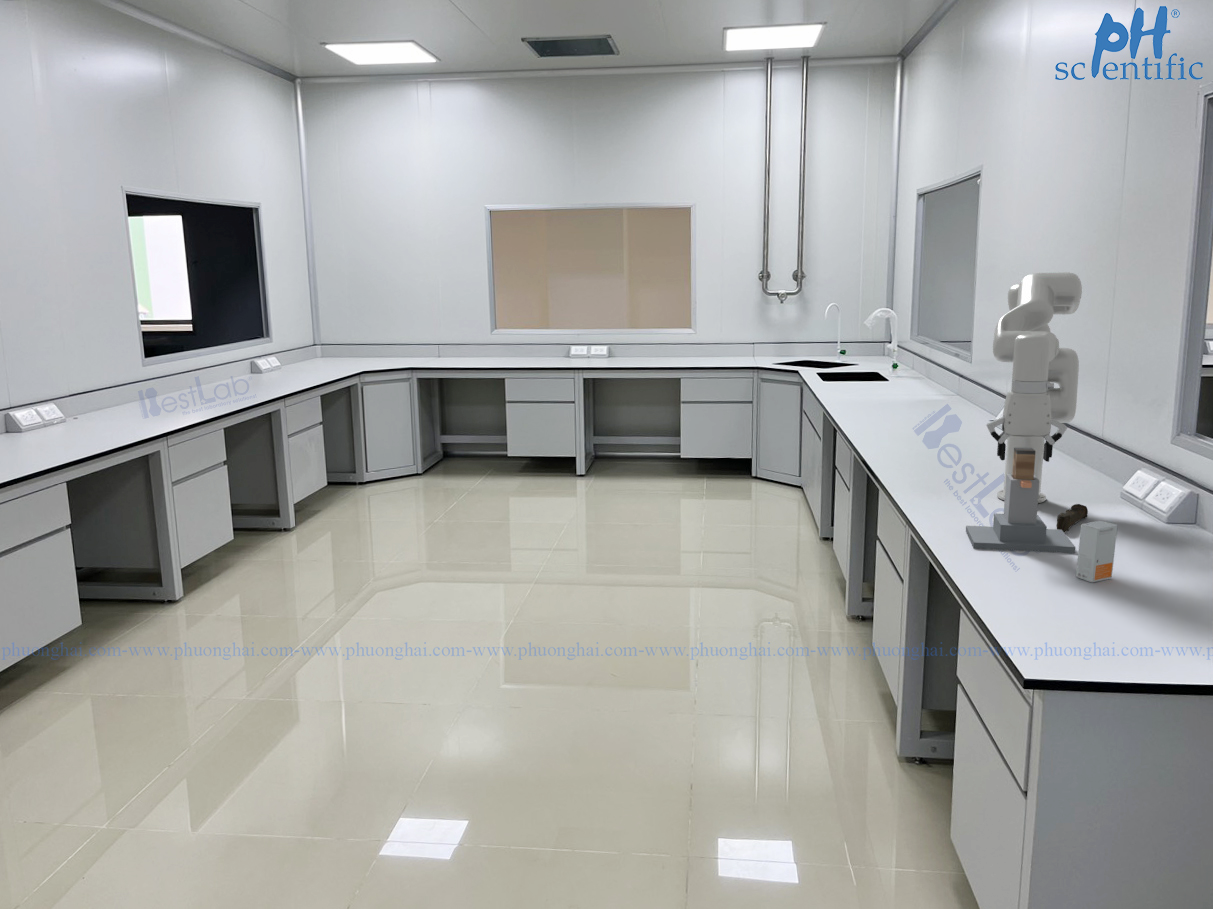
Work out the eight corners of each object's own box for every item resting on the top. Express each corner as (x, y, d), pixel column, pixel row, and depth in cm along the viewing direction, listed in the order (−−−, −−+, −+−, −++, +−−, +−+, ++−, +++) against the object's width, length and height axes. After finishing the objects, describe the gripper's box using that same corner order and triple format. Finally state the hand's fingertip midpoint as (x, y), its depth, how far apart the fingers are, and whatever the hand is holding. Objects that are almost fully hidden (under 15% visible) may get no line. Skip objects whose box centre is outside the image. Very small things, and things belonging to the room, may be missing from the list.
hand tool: (1071, 517, 242) (1072, 500, 241) (1087, 519, 239) (1088, 502, 238) (1045, 533, 229) (1046, 515, 228) (1062, 536, 226) (1064, 518, 225)
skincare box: (1092, 583, 193) (1097, 528, 191) (1075, 577, 197) (1080, 523, 195) (1113, 579, 196) (1118, 524, 193) (1095, 573, 200) (1100, 519, 197)
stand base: (965, 531, 231) (969, 469, 228) (1061, 535, 226) (1066, 472, 223) (973, 548, 218) (977, 482, 215) (1074, 553, 213) (1080, 486, 209)
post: (1009, 515, 223) (1013, 447, 220) (1027, 515, 222) (1032, 447, 219) (1012, 519, 219) (1016, 450, 216) (1030, 520, 218) (1035, 451, 215)
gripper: (1065, 386, 216) (1060, 457, 219) (986, 385, 220) (982, 455, 223) (1073, 390, 208) (1067, 464, 212) (991, 389, 213) (987, 462, 216)
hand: (1023, 459), depth 217 cm, fingers open, 9 cm apart
